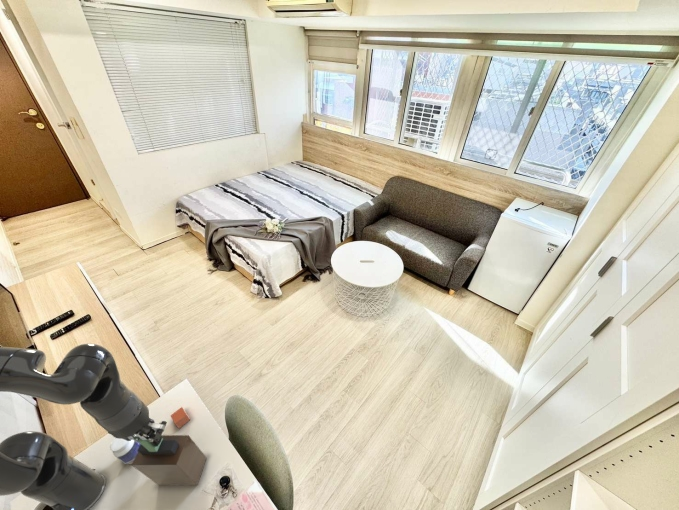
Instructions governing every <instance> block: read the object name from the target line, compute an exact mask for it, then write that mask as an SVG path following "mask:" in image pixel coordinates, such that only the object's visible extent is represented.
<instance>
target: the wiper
mask: <svg viewBox="0 0 679 510" xmlns="http://www.w3.org/2000/svg"><path fill="white" fill-rule="evenodd" d="M138 442H139V443H140V446H139V448H138V450H137V451H138V452H140V453H141V454H142V455H174V454H175V453H176V451H177V448H178V446H179V444H178V443H177V442H176V440H163V438H162V440H161V442H160V444H159V445H158V446H157V447H154V446H153V445H152V444H151V443H150V442H149V441H148V440H142V439H141V438H139V440H138Z"/></svg>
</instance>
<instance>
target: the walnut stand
mask: <svg viewBox="0 0 679 510" xmlns="http://www.w3.org/2000/svg"><path fill="white" fill-rule="evenodd" d="M161 437H162V438H163V440H176V442H177V443H178V444H179V446H178V448H177V451H176V453H175V454H174V455H142V454H141V453H140V452H138V453H137V455H136V457H135V459H134V461H133V463H131V466H132V467H133V468H134V469H136V470H137V471H139V472H140V473H141V474H143V476H146V477H147V478H148V479H149V480H151V481H152V482H154V483H155V484H156V485H158V486H198V485H199V482H200V480H201V476H202V473H203V470H204V467H205V464H206V462H207V459H208V458H207V456H206V455H205V453H204V452H203V451H202V450H201V449H200V448H199V446H198V445H197V444H196V443H195V441H194V440H193V439H192V437H190V436H189V435H188V434H162V435H161Z"/></svg>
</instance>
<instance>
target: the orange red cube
mask: <svg viewBox="0 0 679 510" xmlns="http://www.w3.org/2000/svg"><path fill="white" fill-rule="evenodd" d="M170 418H171V421H173V423H174V424H175V426H176V427H177V428H178V429H181V428H182V427H183V426H184V425H186V424H187V423H189V422H190V421H191V418H190V416H189V415H188V413H187V411H186V410H185V409H184V407H183V406H181V407H180V408H178V409H177V410H175V412H173V413H172V414H171V415H170Z"/></svg>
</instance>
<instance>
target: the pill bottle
mask: <svg viewBox="0 0 679 510" xmlns="http://www.w3.org/2000/svg"><path fill="white" fill-rule="evenodd" d="M139 446H140V443H139V442H135V441H134V440H131V441H127V440H124V439H119V438H115V437H114V439H112V441H111V443H110V445H109V448H110V451H111V452H112V455H113V456H114V457H115V458H117V459H118V460H119V461H120V462H122V463H123V464H124V465H132V463H133V461H134V459H135V457H136V455H137V453H138V451H137V450H138V448H139Z"/></svg>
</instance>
